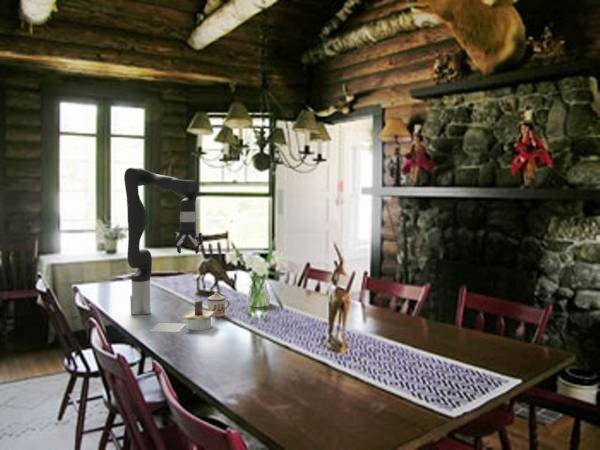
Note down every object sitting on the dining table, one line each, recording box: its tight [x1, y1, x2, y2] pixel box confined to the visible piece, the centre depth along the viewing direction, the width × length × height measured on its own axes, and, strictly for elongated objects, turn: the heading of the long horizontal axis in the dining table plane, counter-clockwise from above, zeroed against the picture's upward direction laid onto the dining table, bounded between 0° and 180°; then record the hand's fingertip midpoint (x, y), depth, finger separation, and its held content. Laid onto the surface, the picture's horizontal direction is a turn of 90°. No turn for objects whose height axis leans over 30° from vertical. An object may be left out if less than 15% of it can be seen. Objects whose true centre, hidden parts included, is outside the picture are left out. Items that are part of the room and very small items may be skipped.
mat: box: [148, 322, 187, 333], centre depth 242 cm, size 14×14×1 cm
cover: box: [182, 300, 214, 321], centre depth 242 cm, size 12×12×7 cm
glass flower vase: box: [246, 282, 271, 307], centre depth 290 cm, size 13×13×18 cm
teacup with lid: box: [206, 292, 231, 318], centre depth 267 cm, size 12×9×12 cm
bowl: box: [186, 317, 212, 331], centre depth 243 cm, size 11×11×6 cm
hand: (188, 253), depth 256 cm, fingers open, 8 cm apart
